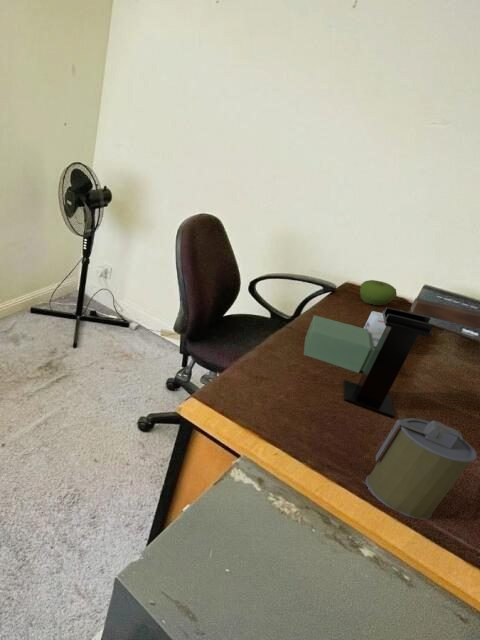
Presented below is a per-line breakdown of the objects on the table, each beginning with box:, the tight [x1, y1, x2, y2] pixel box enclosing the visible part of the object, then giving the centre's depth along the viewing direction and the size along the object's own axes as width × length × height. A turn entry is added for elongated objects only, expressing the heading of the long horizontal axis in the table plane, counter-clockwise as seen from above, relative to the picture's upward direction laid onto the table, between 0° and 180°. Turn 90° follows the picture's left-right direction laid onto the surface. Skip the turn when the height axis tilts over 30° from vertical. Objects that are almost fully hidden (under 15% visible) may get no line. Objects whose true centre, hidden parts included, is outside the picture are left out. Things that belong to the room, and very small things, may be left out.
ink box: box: [363, 310, 386, 346], centre depth 135 cm, size 9×5×12 cm, turn 59°
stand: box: [342, 306, 434, 420], centre depth 109 cm, size 10×10×28 cm
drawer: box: [359, 334, 376, 373], centre depth 129 cm, size 17×11×8 cm
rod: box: [410, 297, 480, 330], centre depth 96 cm, size 20×3×3 cm, turn 51°
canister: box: [365, 417, 478, 520], centre depth 83 cm, size 11×10×20 cm
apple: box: [359, 279, 398, 306], centre depth 163 cm, size 11×10×10 cm
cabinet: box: [303, 314, 371, 374], centre depth 131 cm, size 14×13×10 cm
